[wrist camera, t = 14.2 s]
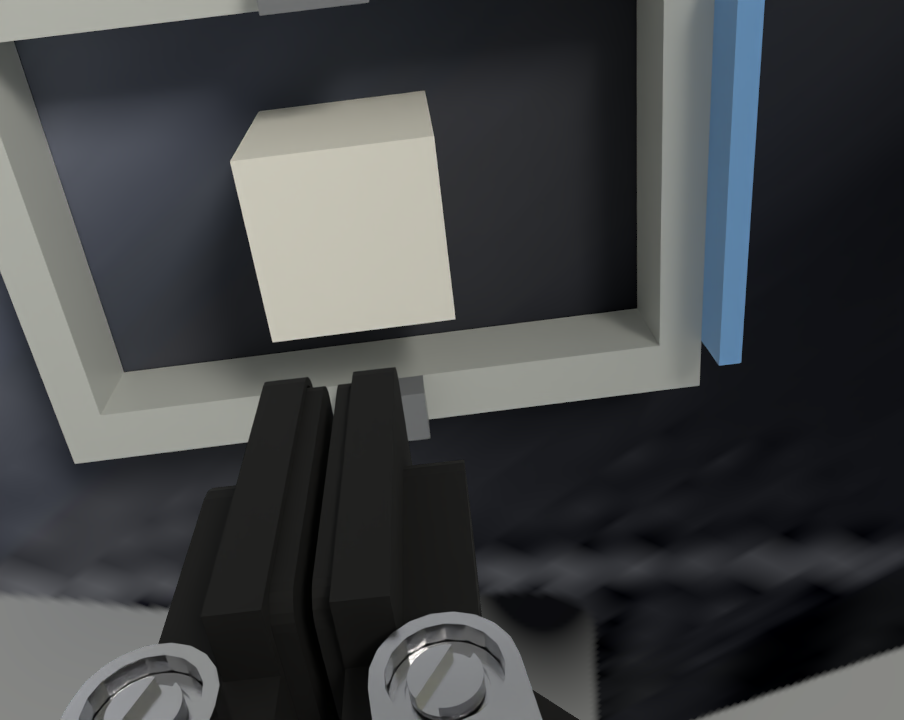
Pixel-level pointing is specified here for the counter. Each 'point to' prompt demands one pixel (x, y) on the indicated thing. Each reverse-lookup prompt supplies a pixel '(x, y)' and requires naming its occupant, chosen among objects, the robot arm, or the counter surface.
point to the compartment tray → (426, 356)
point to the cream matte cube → (345, 216)
